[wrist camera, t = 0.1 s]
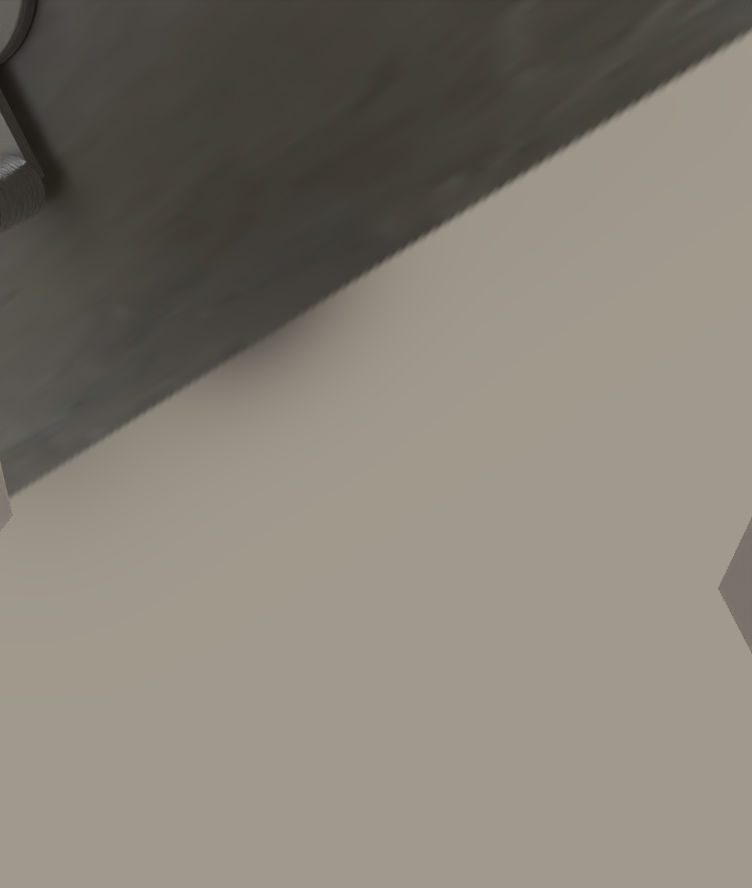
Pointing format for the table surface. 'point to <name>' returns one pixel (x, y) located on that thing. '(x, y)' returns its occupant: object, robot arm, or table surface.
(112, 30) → the table surface
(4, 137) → the silver l-shaped piece
